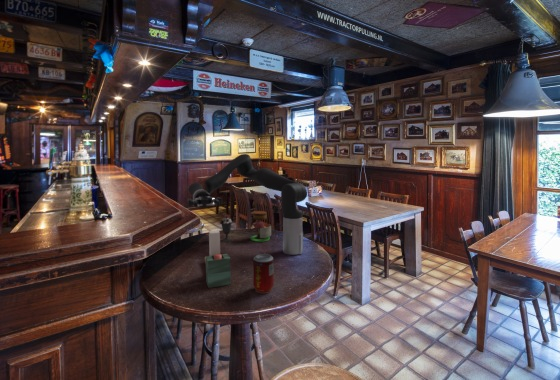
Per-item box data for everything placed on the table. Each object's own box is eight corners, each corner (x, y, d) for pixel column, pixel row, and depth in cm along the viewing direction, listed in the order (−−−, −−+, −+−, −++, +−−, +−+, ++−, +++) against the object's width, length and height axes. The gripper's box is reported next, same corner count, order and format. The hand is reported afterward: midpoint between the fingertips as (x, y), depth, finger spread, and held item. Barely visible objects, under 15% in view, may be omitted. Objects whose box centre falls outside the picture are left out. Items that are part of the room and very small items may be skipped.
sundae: (235, 239, 165) (234, 212, 163) (229, 242, 158) (228, 214, 156) (224, 237, 167) (224, 211, 165) (218, 241, 160) (217, 213, 158)
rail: (230, 284, 110) (230, 258, 108) (208, 288, 107) (207, 261, 105) (217, 260, 133) (216, 238, 132) (199, 262, 130) (198, 240, 129)
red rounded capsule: (222, 269, 109) (222, 256, 108) (214, 270, 108) (214, 257, 107) (221, 266, 112) (220, 253, 111) (213, 267, 110) (213, 254, 110)
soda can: (275, 286, 108) (275, 253, 107) (270, 295, 101) (270, 260, 100) (257, 284, 110) (256, 252, 108) (250, 293, 103) (250, 259, 101)
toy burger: (246, 241, 160) (245, 214, 158) (253, 235, 172) (253, 209, 170) (267, 243, 157) (267, 215, 155) (273, 236, 169) (273, 210, 167)
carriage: (223, 276, 114) (222, 233, 112) (210, 278, 112) (208, 234, 110) (220, 270, 120) (219, 229, 117) (207, 272, 118) (206, 230, 115)
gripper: (217, 205, 141) (224, 212, 126) (186, 207, 136) (189, 214, 121) (217, 189, 140) (224, 194, 125) (185, 190, 135) (189, 196, 120)
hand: (207, 204), depth 123 cm, fingers open, 8 cm apart
